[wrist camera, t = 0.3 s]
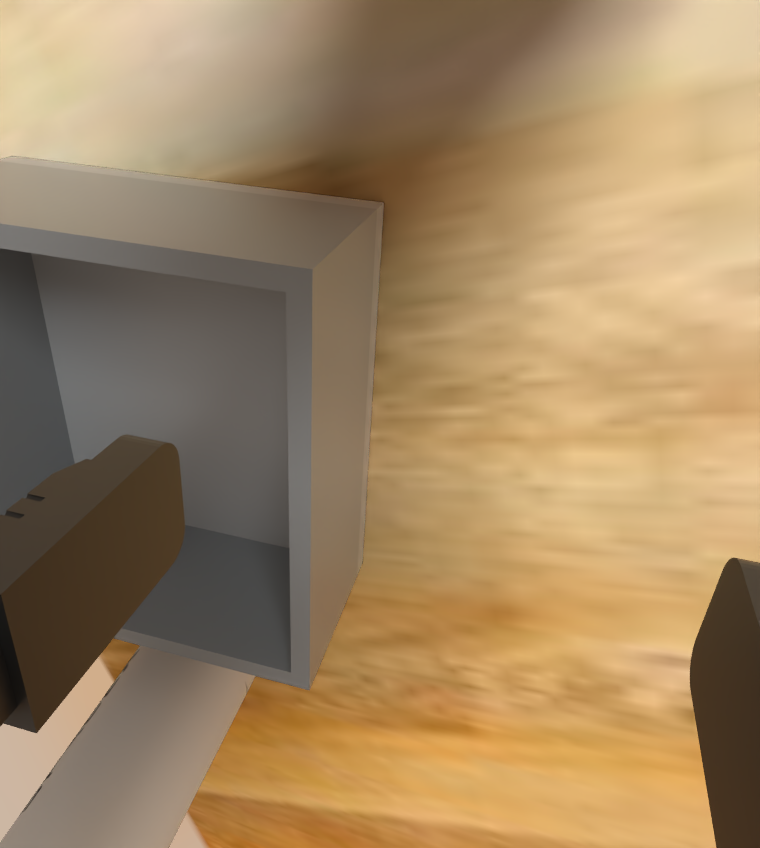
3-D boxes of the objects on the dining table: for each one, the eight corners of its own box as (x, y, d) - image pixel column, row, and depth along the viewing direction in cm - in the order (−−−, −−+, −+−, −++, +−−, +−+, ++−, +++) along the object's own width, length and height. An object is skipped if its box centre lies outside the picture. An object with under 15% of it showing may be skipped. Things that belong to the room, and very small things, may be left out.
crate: (12, 155, 29) (-160, 199, 23) (384, 202, 26) (312, 269, 20) (83, 499, 39) (-24, 602, 32) (362, 562, 36) (309, 690, 29)
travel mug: (292, 662, 41) (86, 1109, 24) (196, 660, 43) (-51, 1067, 27) (256, 580, 38) (-2, 1020, 22) (157, 582, 41) (-147, 982, 24)
